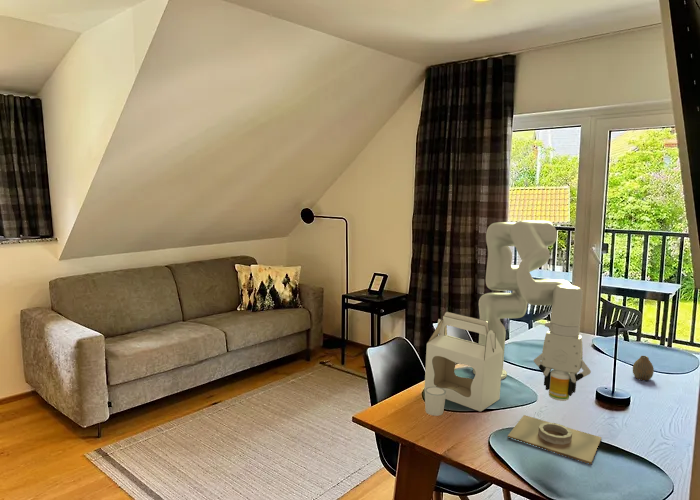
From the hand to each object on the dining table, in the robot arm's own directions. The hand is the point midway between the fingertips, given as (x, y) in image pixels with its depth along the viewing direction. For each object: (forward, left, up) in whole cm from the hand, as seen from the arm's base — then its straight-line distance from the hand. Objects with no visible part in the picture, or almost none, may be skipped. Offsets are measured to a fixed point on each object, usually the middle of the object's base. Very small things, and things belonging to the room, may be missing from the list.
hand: (559, 390), depth 141 cm
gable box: (-33, +11, -15) cm, 38 cm away
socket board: (0, 0, -15) cm, 15 cm away
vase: (+16, +69, -15) cm, 72 cm away
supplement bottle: (0, 0, -2) cm, 2 cm away
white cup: (-35, -6, -15) cm, 39 cm away
